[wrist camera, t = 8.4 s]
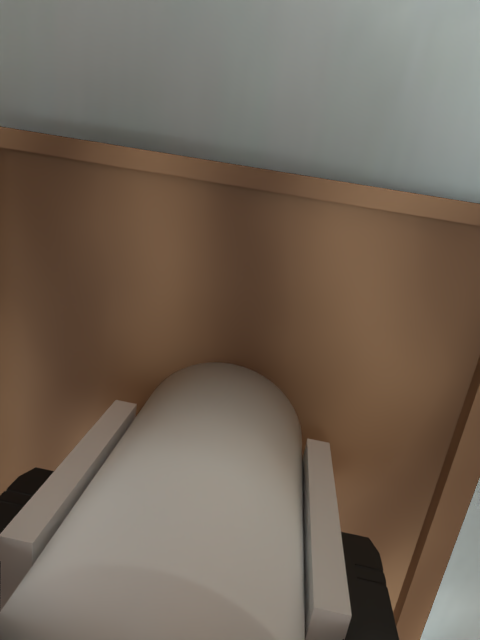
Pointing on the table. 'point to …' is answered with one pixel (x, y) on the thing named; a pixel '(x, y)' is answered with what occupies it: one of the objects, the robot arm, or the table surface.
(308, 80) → the table surface
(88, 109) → the table surface
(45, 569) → the beige rounded cylinder
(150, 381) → the tray
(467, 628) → the table surface
